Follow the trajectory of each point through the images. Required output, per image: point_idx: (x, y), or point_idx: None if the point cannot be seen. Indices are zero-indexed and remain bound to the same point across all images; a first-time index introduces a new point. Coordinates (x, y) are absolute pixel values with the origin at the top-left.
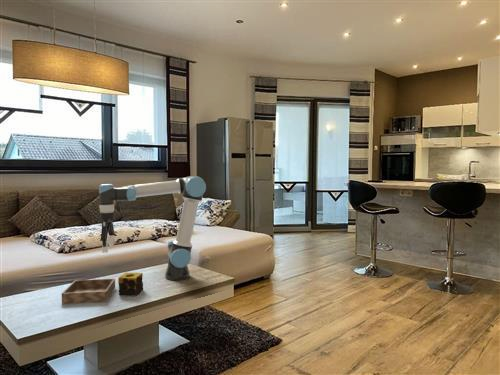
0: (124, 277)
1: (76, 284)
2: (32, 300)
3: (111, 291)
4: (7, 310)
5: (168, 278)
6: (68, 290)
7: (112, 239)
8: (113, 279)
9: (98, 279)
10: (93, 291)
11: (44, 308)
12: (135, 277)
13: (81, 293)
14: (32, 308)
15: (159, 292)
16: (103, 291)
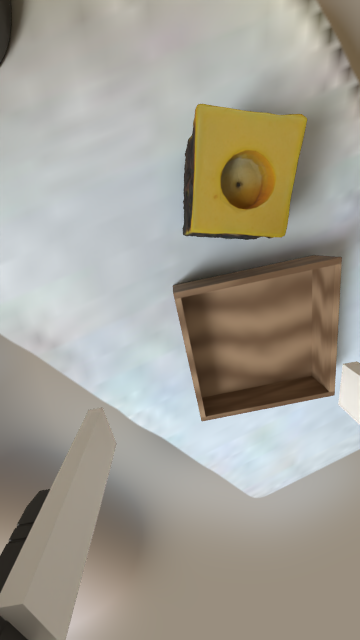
0: (284, 200)
1: (203, 405)
2: (277, 447)
3: (238, 273)
4: (335, 457)
5: (3, 39)
6: (281, 395)
7: (70, 508)
8: (185, 294)
9: (190, 352)
10: (229, 336)
11: (336, 397)
12: (292, 122)
13: (335, 341)
14: (331, 421)
15: (215, 40)
16: (338, 269)
